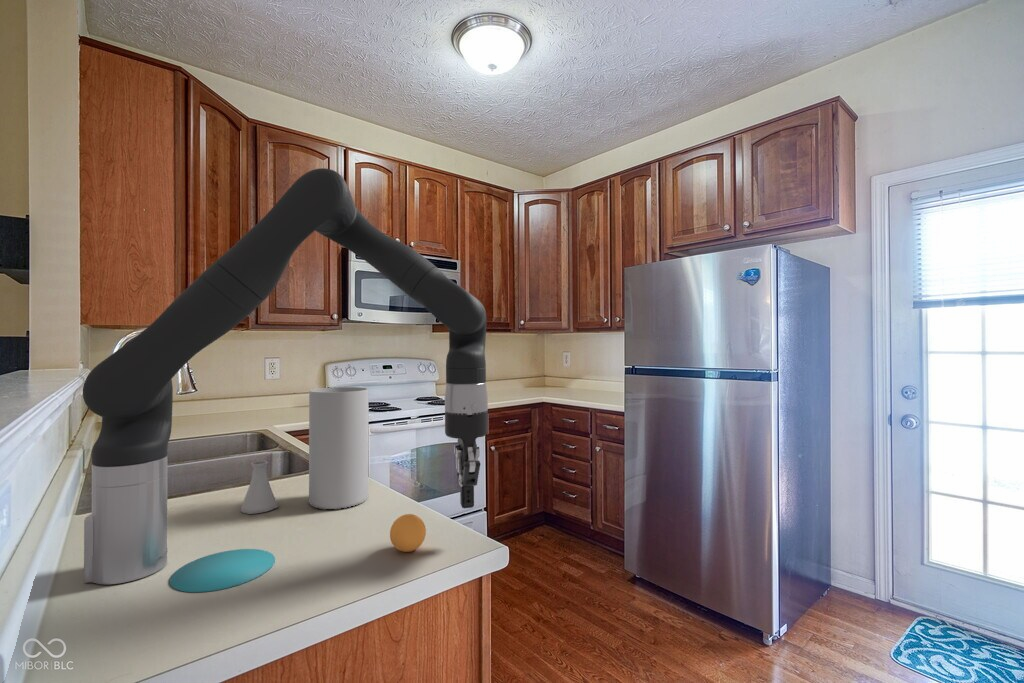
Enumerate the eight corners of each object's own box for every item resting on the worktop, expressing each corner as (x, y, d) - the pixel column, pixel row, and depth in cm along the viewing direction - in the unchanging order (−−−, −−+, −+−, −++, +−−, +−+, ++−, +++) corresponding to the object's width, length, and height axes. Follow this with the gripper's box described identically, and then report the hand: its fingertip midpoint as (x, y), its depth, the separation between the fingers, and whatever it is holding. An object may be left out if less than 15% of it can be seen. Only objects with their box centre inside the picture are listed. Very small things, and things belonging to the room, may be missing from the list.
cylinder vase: (306, 513, 100) (306, 393, 100) (311, 495, 111) (311, 388, 112) (369, 507, 104) (369, 391, 104) (367, 490, 115) (367, 386, 116)
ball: (389, 559, 78) (389, 523, 78) (389, 545, 84) (389, 510, 84) (427, 555, 80) (427, 519, 80) (424, 541, 86) (424, 507, 86)
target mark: (151, 598, 67) (151, 596, 67) (191, 555, 80) (191, 553, 80) (262, 585, 70) (262, 584, 70) (283, 546, 84) (283, 545, 84)
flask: (269, 501, 108) (269, 456, 108) (284, 508, 103) (284, 461, 103) (234, 509, 102) (234, 462, 102) (248, 517, 98) (249, 468, 98)
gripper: (440, 404, 90) (441, 497, 90) (449, 414, 77) (450, 522, 77) (480, 403, 92) (481, 493, 92) (495, 412, 79) (496, 517, 79)
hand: (467, 506), depth 85 cm, fingers closed
